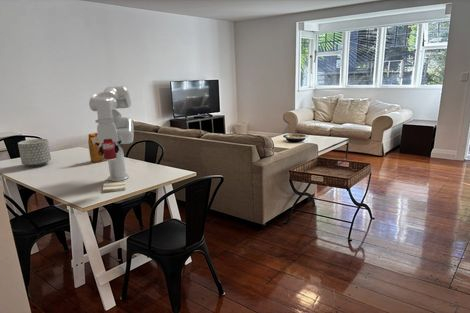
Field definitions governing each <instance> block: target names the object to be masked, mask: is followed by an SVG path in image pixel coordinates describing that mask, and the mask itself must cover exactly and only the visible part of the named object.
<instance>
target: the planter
mask: <svg viewBox="0 0 470 313" xmlns="http://www.w3.org/2000/svg"><path fill="white" fill-rule="evenodd" d="M17 145H18V147H17V148H18V151H19V157H20V160H21V162H20V163H21V164H22V165H25V166H27V167H28V166H29V167H33V168H36V167H41V166H43V165H46V164H47V163H49V162H50V161H51V160H52V156H51V151H50V150H51V149H50V146H49V140H48V139H47V138H35V139H34V138H33V139H26V140H21V141H19V142H17Z"/></svg>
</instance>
